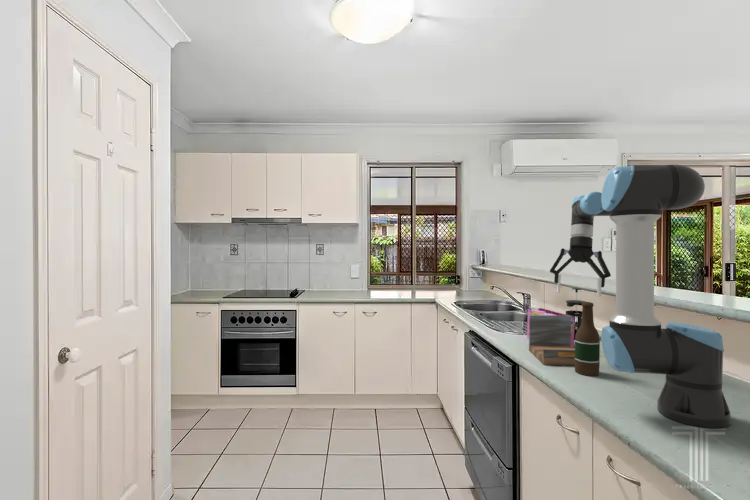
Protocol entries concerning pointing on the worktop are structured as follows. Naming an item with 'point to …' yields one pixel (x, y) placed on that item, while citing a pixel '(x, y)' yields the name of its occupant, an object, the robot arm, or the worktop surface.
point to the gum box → (548, 312)
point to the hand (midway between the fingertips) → (578, 294)
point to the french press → (572, 312)
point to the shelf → (551, 339)
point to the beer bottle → (587, 344)
